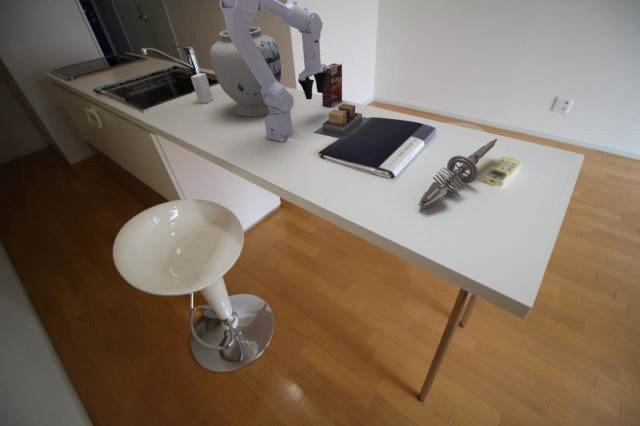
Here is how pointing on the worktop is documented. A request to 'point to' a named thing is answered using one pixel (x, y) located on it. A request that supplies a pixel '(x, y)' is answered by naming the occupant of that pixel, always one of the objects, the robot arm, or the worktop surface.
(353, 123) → the board
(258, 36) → the white ceramic vase
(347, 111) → the brown wooden block
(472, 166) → the spaceship
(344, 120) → the oak block
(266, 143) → the worktop surface
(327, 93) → the supplement box
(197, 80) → the skincare box
